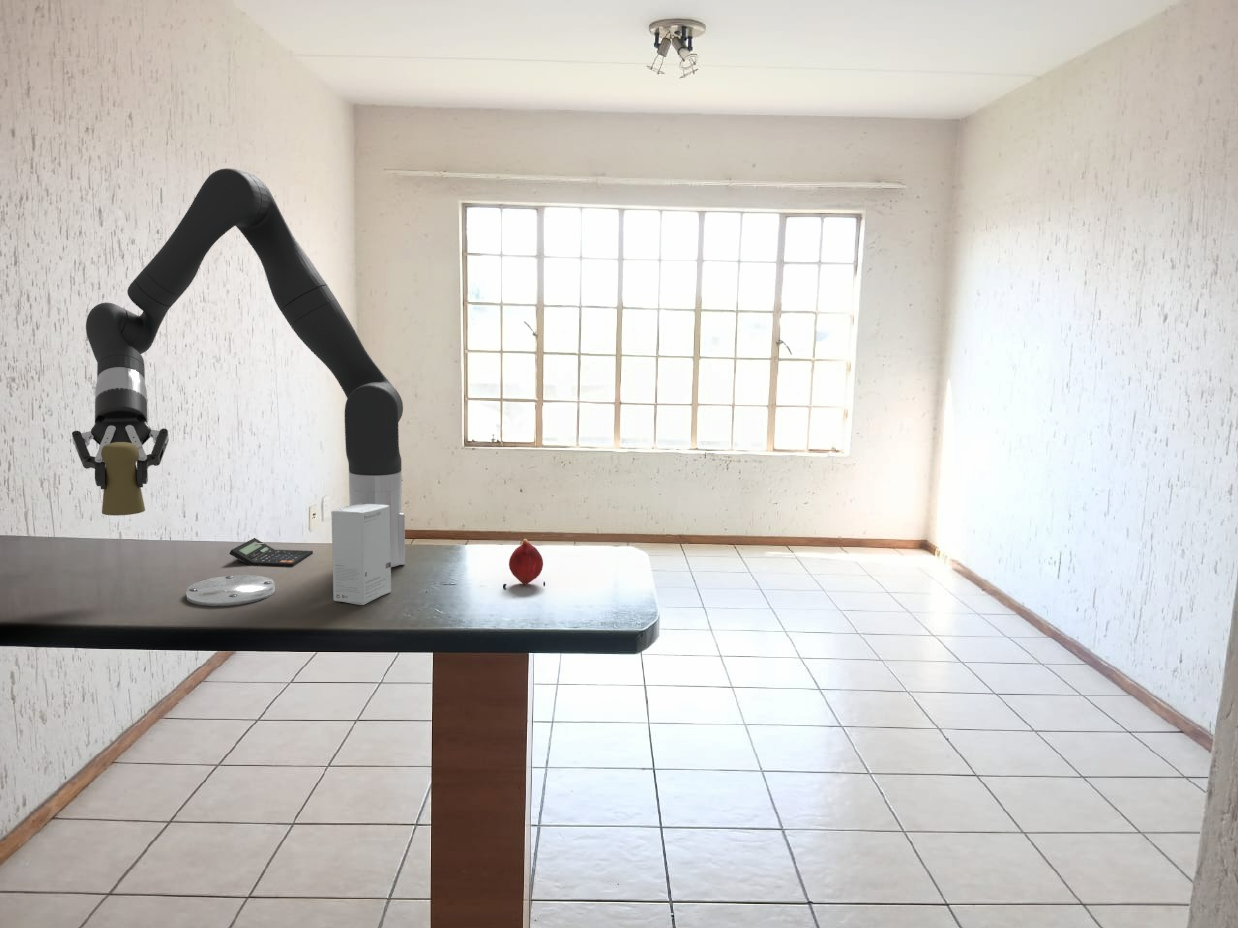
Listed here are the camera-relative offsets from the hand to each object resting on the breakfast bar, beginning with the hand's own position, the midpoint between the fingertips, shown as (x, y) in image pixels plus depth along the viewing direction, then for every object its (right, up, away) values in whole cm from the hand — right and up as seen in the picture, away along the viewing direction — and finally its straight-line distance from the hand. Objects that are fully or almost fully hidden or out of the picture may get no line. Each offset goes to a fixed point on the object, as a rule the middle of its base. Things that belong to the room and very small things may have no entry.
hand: (121, 485), depth 136 cm
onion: (+61, -18, +15) cm, 66 cm away
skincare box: (+36, -18, +5) cm, 41 cm away
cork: (-1, -4, +2) cm, 5 cm away
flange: (+15, -18, +5) cm, 24 cm away
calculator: (+13, -15, +26) cm, 33 cm away
